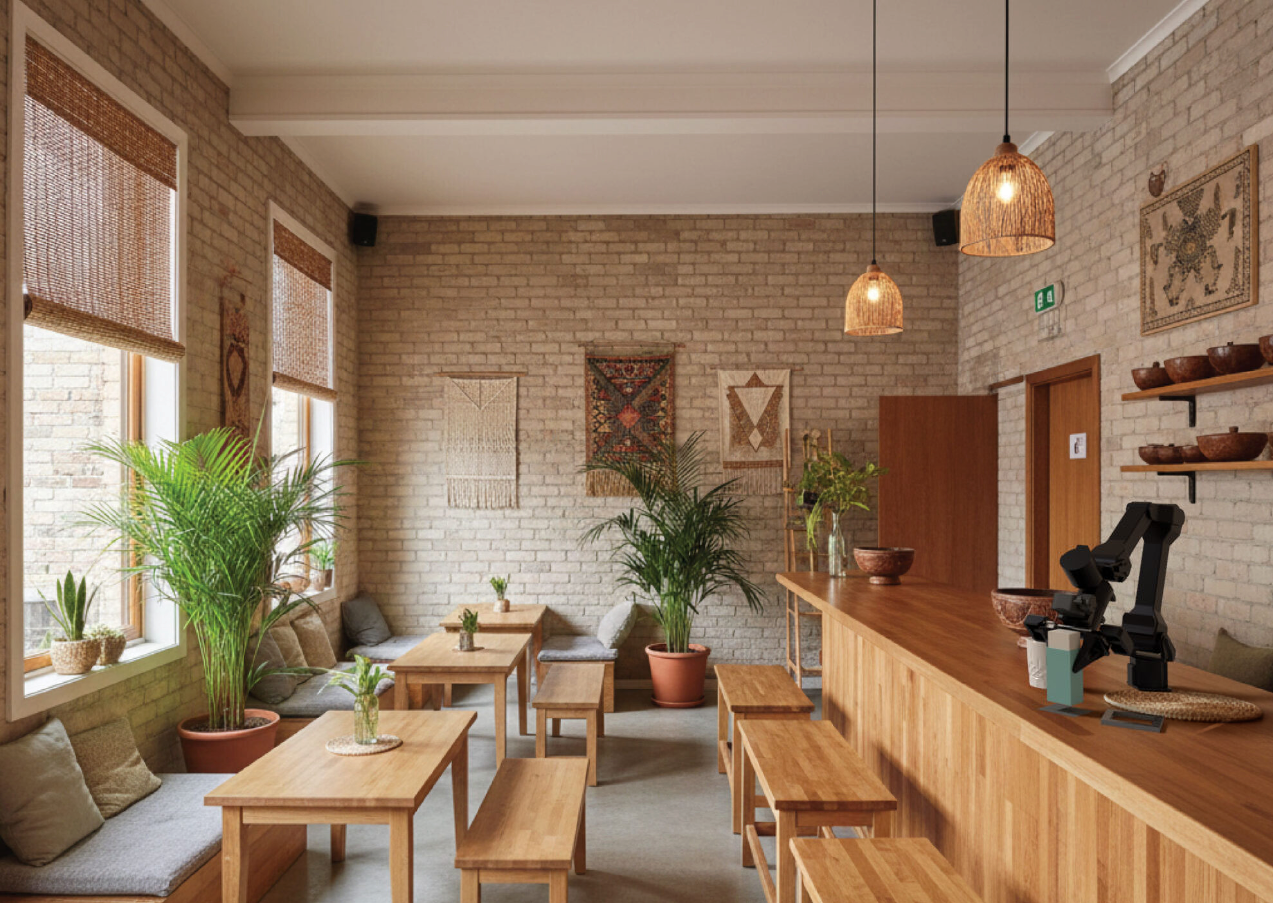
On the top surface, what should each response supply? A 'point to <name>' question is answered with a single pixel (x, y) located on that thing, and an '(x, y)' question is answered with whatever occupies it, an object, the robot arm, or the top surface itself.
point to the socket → (1131, 725)
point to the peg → (1063, 668)
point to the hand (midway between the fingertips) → (1060, 669)
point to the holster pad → (1065, 710)
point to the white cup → (1037, 663)
